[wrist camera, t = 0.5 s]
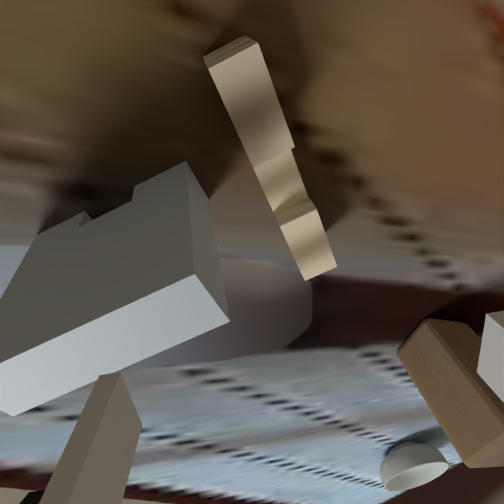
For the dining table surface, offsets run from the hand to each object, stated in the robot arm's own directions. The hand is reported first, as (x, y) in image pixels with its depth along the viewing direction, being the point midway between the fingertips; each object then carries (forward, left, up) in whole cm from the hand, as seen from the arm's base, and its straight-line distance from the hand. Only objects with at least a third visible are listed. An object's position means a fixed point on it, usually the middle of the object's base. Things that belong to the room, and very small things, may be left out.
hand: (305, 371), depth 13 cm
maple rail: (+2, +6, -27) cm, 28 cm away
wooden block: (+30, +43, -27) cm, 59 cm away
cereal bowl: (+75, +61, -27) cm, 101 cm away
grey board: (+10, -9, -27) cm, 31 cm away
